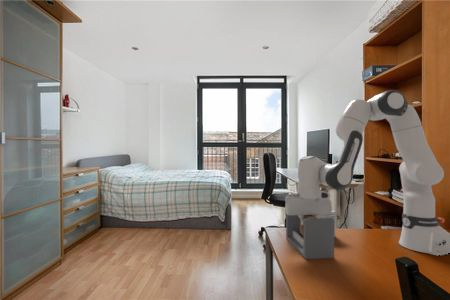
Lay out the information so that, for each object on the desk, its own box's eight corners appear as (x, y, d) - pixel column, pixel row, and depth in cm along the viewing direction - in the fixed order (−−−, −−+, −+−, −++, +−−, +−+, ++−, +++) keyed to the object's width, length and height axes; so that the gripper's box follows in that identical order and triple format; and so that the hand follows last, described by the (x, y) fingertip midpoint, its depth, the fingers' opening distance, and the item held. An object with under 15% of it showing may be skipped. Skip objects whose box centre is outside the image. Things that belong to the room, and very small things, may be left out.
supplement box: (313, 233, 126) (313, 208, 126) (325, 231, 129) (325, 207, 129) (323, 238, 119) (323, 212, 119) (336, 236, 122) (336, 211, 122)
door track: (286, 238, 119) (286, 206, 119) (310, 237, 120) (310, 205, 120) (305, 259, 97) (305, 219, 97) (334, 257, 98) (334, 219, 98)
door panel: (299, 232, 115) (299, 211, 114) (305, 232, 115) (305, 210, 115) (310, 242, 103) (310, 218, 102) (317, 242, 103) (317, 218, 103)
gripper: (287, 195, 104) (287, 227, 105) (333, 194, 106) (333, 226, 106) (282, 192, 111) (282, 223, 111) (326, 191, 113) (326, 221, 113)
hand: (308, 224), depth 109 cm, fingers closed on door panel, 3 cm apart
